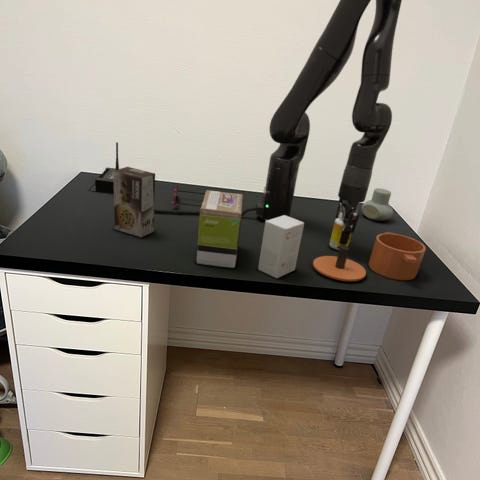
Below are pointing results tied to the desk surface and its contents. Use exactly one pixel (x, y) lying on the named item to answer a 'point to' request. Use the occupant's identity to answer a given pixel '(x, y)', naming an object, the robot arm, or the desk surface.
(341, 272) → the orange pot lid
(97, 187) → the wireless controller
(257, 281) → the desk surface
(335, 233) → the supplement bottle
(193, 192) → the glasses
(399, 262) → the orange pot
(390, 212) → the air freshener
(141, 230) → the coffee box
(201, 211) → the tea box
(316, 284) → the desk surface
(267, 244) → the small box
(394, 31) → the robot arm
